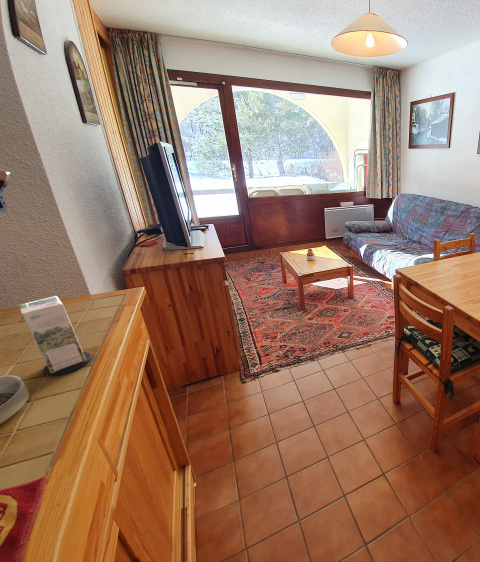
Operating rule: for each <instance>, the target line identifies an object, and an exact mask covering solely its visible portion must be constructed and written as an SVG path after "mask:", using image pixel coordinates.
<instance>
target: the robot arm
mask: <svg viewBox="0 0 480 562" xmlns="http://www.w3.org/2000/svg"><path fill="white" fill-rule="evenodd" d="M10 177H11V172H10V171H8V170H5V169H3V168H0V213H4V212H6V211H8V210H7V209H8V204H7V201H6V199H5V198H4V197H5V196H4V194H3V192H4V191H5V189H6V188H7V186H8V185H9V181H10Z"/></svg>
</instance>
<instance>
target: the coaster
mask: <svg viewBox="0 0 480 562" xmlns="http://www.w3.org/2000/svg"><path fill="white" fill-rule="evenodd" d="M83 354H84V356H85V358H86V361H84V362H82V363H79V364H76V365H73V366H71V367H68V368H65V369H63V370H60V371H57V372H54V373H51V372H50V370H49V368H48V366H47V364H46V365H44V367H43V369H42V371H43V374H44V375H45V376H48V377H58V376H64V375H67V374H71V373H73V372H76V371H78V370H80V369H82V368H84V367H85V366H87V365H88V364H89V363H90V362H91V361H92V355H91V353H90V352H87V351H83Z"/></svg>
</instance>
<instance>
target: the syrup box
mask: <svg viewBox="0 0 480 562" xmlns="http://www.w3.org/2000/svg"><path fill="white" fill-rule="evenodd" d="M18 307H19V309H20V312H21V314H22V317H23V319H24V321H25V323H26V325H27V327H28V330H29V331H30V333H31V335H32V337H33V341H34V342H35V343H36V346H37V348H38V350H39V352H40V354H41V356H42V358H43V361H44V362H45V364H46V365H47V366H48V368H49V370H50V372H51V373H54V372H57V371H60V370H63V369H65V368H68V367H71V366H73V365H76V364H79V363H82V362H84V361H86V358H85V356H84V354H83V352H84V351H83V349H82V347H81V344H80V341H79V340H78V339H79V338H78V337H77V334H76V333H75V330H74V327H73V325H72V322H71V320H70V318H69V315H68V313H67V310H66V308H65V306H64V304H63V302H62V301H61V300H60V298H59V297H58V296H57V295H53V296H50V297H45V298H41V299H36V300H33V301H29V302H25V303H21V304H18Z"/></svg>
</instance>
